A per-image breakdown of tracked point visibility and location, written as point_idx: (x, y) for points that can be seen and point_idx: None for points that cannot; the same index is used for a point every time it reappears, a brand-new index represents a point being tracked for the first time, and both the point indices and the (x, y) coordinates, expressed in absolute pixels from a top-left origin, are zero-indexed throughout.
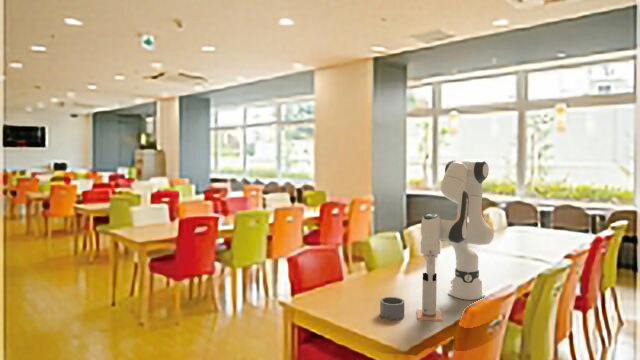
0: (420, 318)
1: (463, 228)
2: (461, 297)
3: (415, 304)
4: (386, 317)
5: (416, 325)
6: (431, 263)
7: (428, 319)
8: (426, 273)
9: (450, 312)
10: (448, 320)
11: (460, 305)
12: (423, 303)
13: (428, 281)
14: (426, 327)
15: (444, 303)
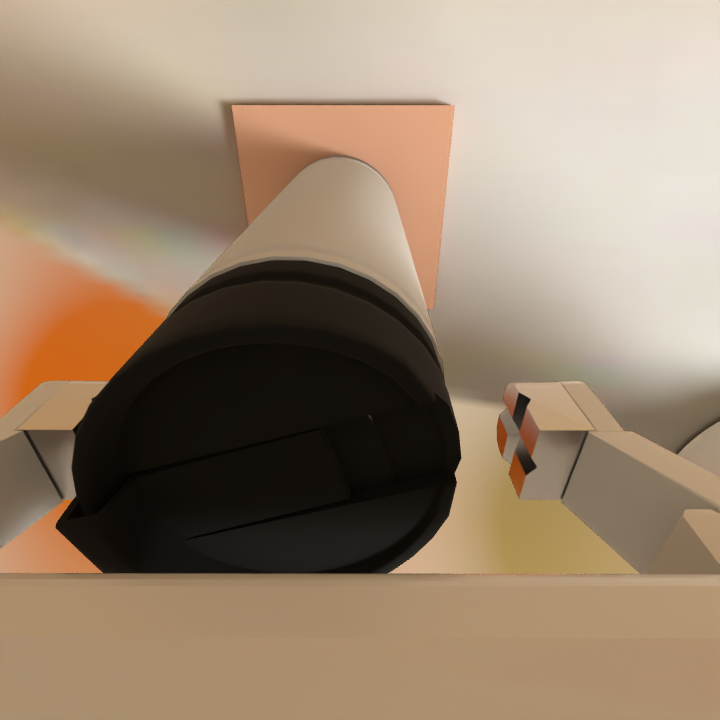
0: (236, 135)
1: None
2: (701, 444)
3: (641, 84)
4: None
5: (96, 94)
6: None
7: (246, 207)
8: (351, 416)
9: (444, 361)
10: None
11: None
12: (291, 182)
13: (44, 383)
14: (96, 185)
15: (628, 336)
